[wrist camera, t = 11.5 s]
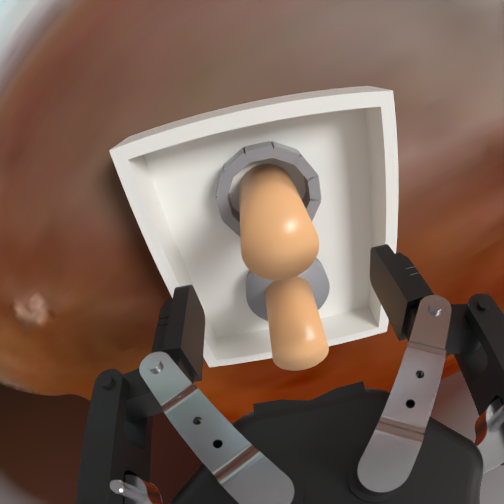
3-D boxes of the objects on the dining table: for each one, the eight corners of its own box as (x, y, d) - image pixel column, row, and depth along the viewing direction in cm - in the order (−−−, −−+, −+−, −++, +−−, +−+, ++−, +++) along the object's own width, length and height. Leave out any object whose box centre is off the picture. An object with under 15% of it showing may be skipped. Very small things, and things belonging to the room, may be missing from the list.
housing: (211, 337, 32) (207, 410, 25) (129, 136, 20) (73, 178, 13) (374, 304, 31) (403, 370, 23) (368, 85, 19) (438, 101, 11)
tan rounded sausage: (246, 218, 23) (250, 286, 17) (233, 170, 21) (231, 223, 14) (297, 207, 23) (322, 271, 16) (288, 158, 21) (314, 206, 14)
